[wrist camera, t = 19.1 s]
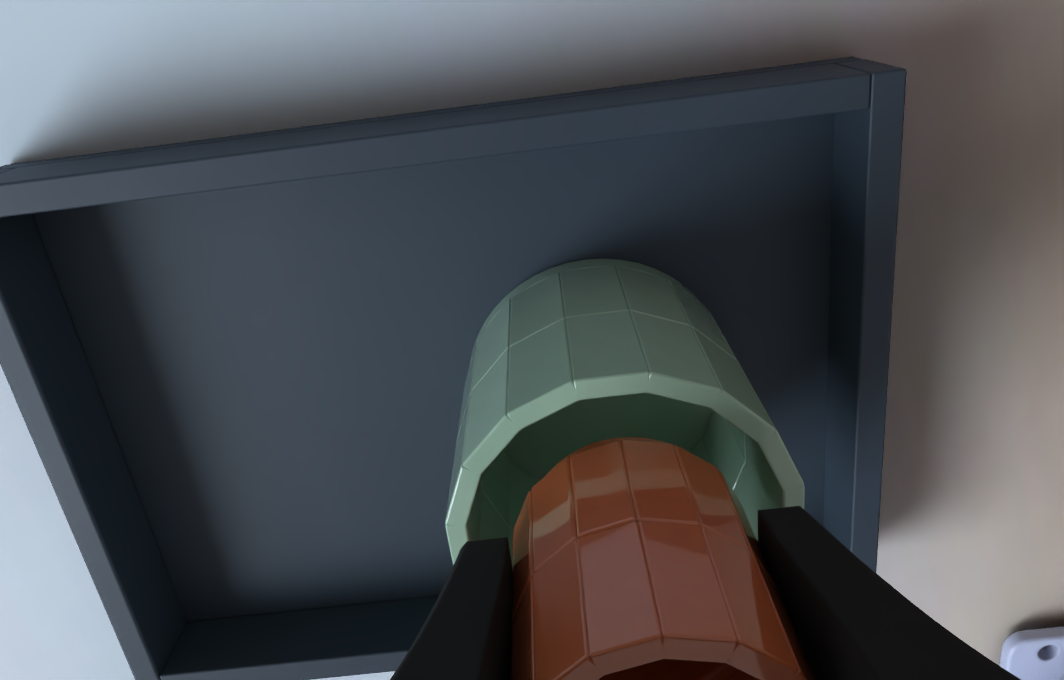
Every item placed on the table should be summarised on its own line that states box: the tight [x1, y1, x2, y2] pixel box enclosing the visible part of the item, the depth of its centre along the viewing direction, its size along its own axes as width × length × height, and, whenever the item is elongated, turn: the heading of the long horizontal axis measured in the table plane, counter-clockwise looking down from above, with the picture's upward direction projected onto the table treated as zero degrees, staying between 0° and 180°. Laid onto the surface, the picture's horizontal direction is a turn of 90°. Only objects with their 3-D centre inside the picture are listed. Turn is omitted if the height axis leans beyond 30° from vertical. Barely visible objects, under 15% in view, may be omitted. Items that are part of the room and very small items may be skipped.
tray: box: [0, 57, 906, 680], centre depth 18 cm, size 17×12×2 cm
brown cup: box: [511, 437, 816, 680], centre depth 11 cm, size 4×4×4 cm
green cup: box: [445, 258, 805, 567], centre depth 16 cm, size 6×6×6 cm
